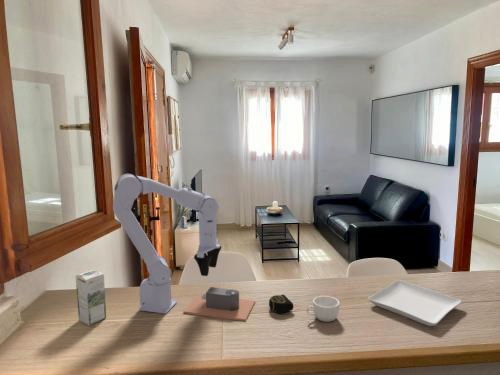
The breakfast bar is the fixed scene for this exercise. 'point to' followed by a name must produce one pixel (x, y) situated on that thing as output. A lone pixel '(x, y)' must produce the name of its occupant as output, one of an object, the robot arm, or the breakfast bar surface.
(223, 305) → the grey round-top block
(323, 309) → the teacup
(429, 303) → the salad plate
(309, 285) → the breakfast bar surface
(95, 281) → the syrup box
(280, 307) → the tape measure
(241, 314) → the rubber mat
